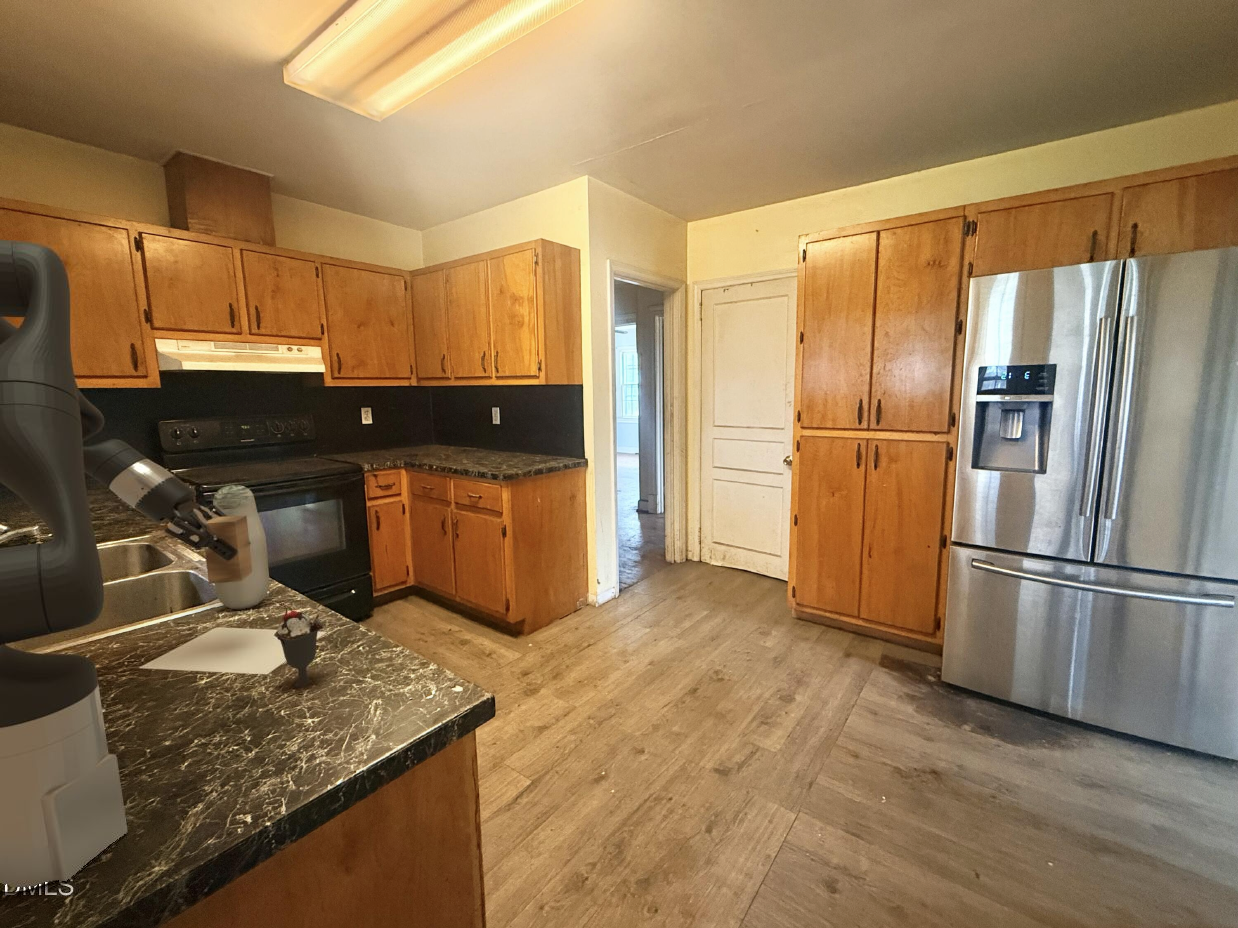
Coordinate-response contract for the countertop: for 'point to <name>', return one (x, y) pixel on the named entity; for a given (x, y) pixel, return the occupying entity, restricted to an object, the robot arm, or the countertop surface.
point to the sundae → (299, 642)
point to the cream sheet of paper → (226, 652)
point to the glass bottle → (257, 583)
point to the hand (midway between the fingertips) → (240, 551)
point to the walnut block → (237, 537)
